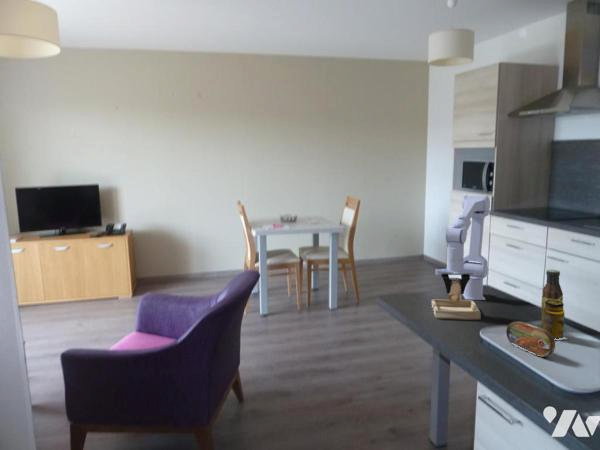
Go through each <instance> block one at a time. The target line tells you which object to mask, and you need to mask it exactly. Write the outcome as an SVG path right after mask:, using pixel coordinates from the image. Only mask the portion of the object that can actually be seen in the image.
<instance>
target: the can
mask: <svg viewBox="0 0 600 450" xmlns="http://www.w3.org/2000/svg"><path fill="white" fill-rule="evenodd" d="M447 295H448V299H447V300H451V301H461V300H463V299H462V297H463V294H462V279H461V278H459V277H449V294H447Z"/></svg>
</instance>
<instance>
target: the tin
mask: <svg viewBox="0 0 600 450" xmlns="http://www.w3.org/2000/svg"><path fill="white" fill-rule="evenodd" d="M505 332H506V338H507V340H508V341H509V343H510V344H511V343H514V344H516V345H518V346H520V347H522V348H524V349H526V350H528V351H530V352H533V353H535V354H536V355H539V356H540V357H539V358H544V357H547V356H550V355H552V354H553V352H555V349H556V341H555V340H554V338H553V336H552V335H551V334H550V333H549V332H548V331H547V330H545V329H542V328H541V327H539V326H536V325H533V324H530V323H528V322H524V321H520V320H519V321H512V322H510V323H509V324H508V325H507V326H506V331H505Z"/></svg>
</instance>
